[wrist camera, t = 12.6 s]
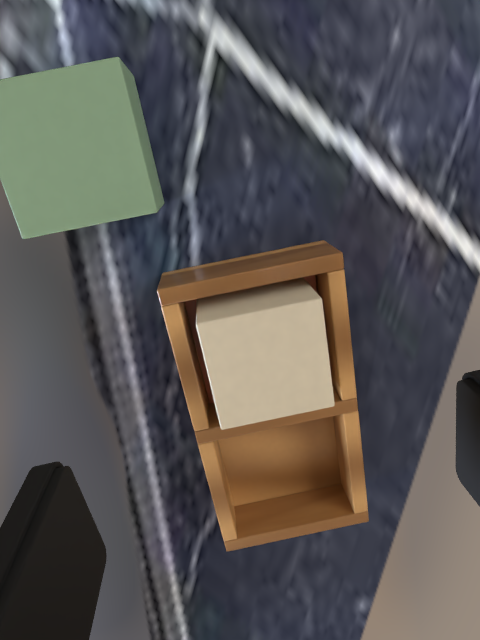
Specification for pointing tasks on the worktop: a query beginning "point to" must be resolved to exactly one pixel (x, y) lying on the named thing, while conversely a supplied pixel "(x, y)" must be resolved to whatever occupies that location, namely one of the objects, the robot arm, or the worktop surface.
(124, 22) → the worktop surface
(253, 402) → the pad
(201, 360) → the holder
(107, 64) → the pad
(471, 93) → the worktop surface
